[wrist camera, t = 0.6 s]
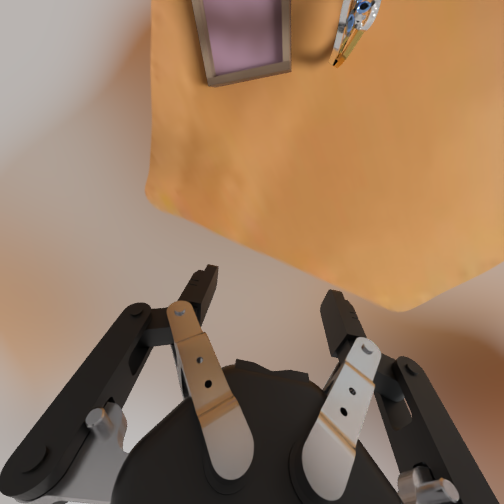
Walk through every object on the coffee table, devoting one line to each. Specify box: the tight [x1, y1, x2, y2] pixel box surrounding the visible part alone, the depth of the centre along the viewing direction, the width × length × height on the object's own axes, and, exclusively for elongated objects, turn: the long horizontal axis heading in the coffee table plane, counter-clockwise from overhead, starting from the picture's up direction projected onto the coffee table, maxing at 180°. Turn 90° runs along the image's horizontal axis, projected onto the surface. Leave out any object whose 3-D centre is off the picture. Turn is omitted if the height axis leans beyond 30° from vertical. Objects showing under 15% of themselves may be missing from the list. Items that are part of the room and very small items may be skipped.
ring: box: [329, 0, 381, 68], centre depth 19 cm, size 7×3×8 cm, turn 156°
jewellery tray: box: [192, 0, 291, 87], centre depth 23 cm, size 11×11×2 cm
